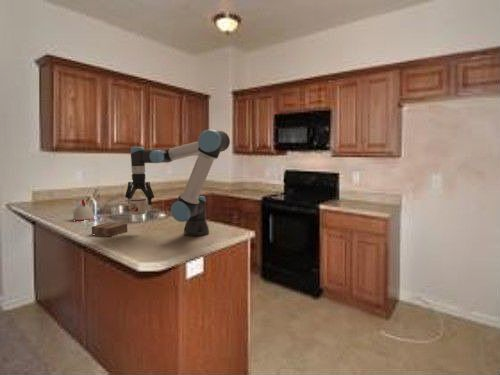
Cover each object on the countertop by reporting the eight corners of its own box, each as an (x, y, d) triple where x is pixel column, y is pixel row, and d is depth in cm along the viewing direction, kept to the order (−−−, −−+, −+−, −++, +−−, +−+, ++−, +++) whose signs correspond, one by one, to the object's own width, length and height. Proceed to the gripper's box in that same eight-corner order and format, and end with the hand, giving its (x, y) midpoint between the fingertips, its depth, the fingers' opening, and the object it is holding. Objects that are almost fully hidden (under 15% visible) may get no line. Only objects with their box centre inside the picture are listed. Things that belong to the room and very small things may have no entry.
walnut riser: (127, 231, 205) (127, 223, 204) (110, 237, 191) (110, 228, 191) (109, 230, 209) (108, 222, 209) (91, 235, 196) (91, 226, 196)
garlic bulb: (92, 217, 250) (91, 197, 248) (96, 220, 239) (95, 200, 237) (71, 219, 242) (70, 199, 240) (75, 222, 231) (74, 201, 229)
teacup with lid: (127, 214, 196) (126, 194, 195) (140, 211, 204) (139, 192, 202) (140, 215, 189) (139, 195, 188) (153, 213, 197) (152, 194, 195)
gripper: (117, 173, 194) (119, 210, 197) (151, 173, 187) (153, 211, 189) (126, 172, 202) (127, 208, 204) (159, 173, 194) (161, 209, 196)
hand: (140, 209), depth 196 cm, fingers closed on teacup with lid, 12 cm apart
